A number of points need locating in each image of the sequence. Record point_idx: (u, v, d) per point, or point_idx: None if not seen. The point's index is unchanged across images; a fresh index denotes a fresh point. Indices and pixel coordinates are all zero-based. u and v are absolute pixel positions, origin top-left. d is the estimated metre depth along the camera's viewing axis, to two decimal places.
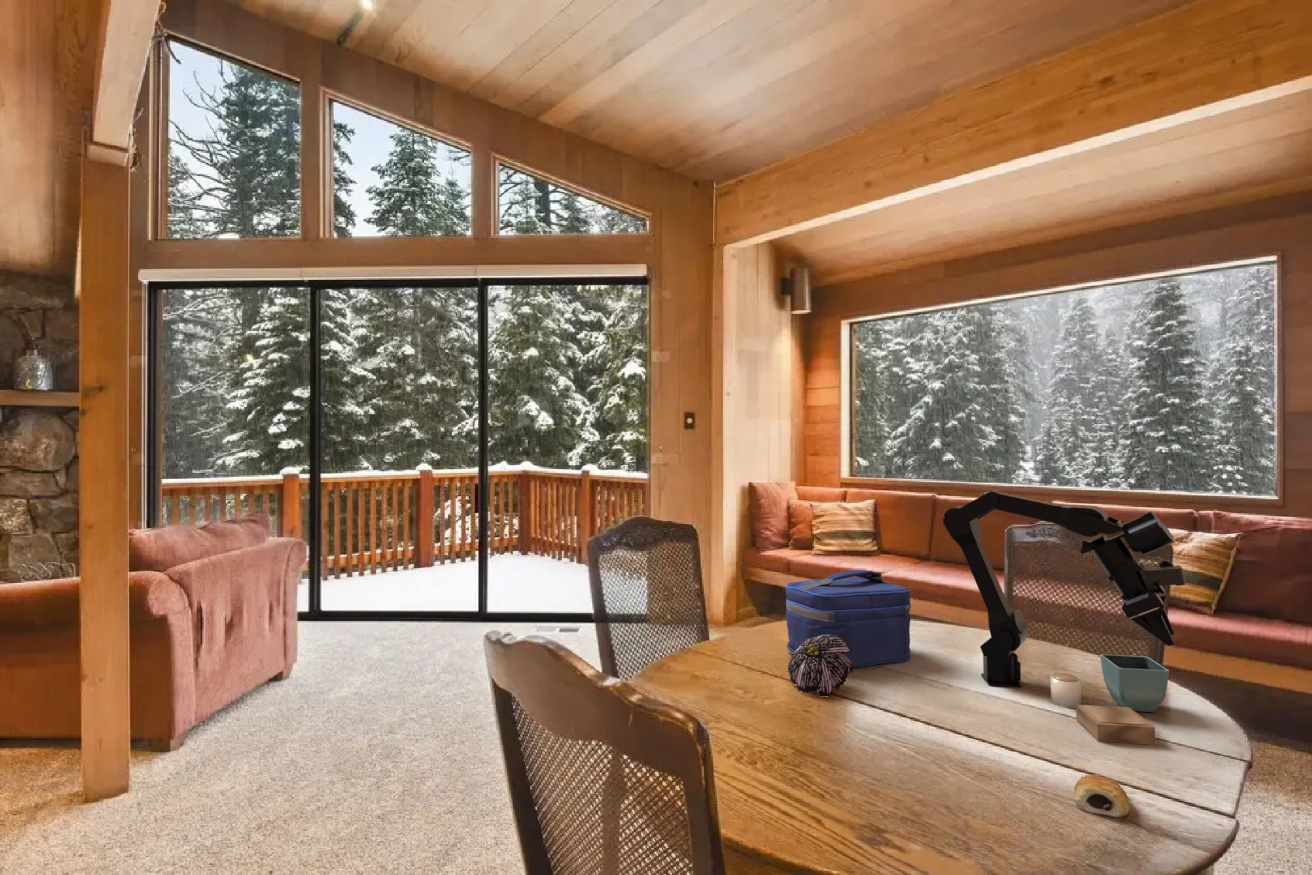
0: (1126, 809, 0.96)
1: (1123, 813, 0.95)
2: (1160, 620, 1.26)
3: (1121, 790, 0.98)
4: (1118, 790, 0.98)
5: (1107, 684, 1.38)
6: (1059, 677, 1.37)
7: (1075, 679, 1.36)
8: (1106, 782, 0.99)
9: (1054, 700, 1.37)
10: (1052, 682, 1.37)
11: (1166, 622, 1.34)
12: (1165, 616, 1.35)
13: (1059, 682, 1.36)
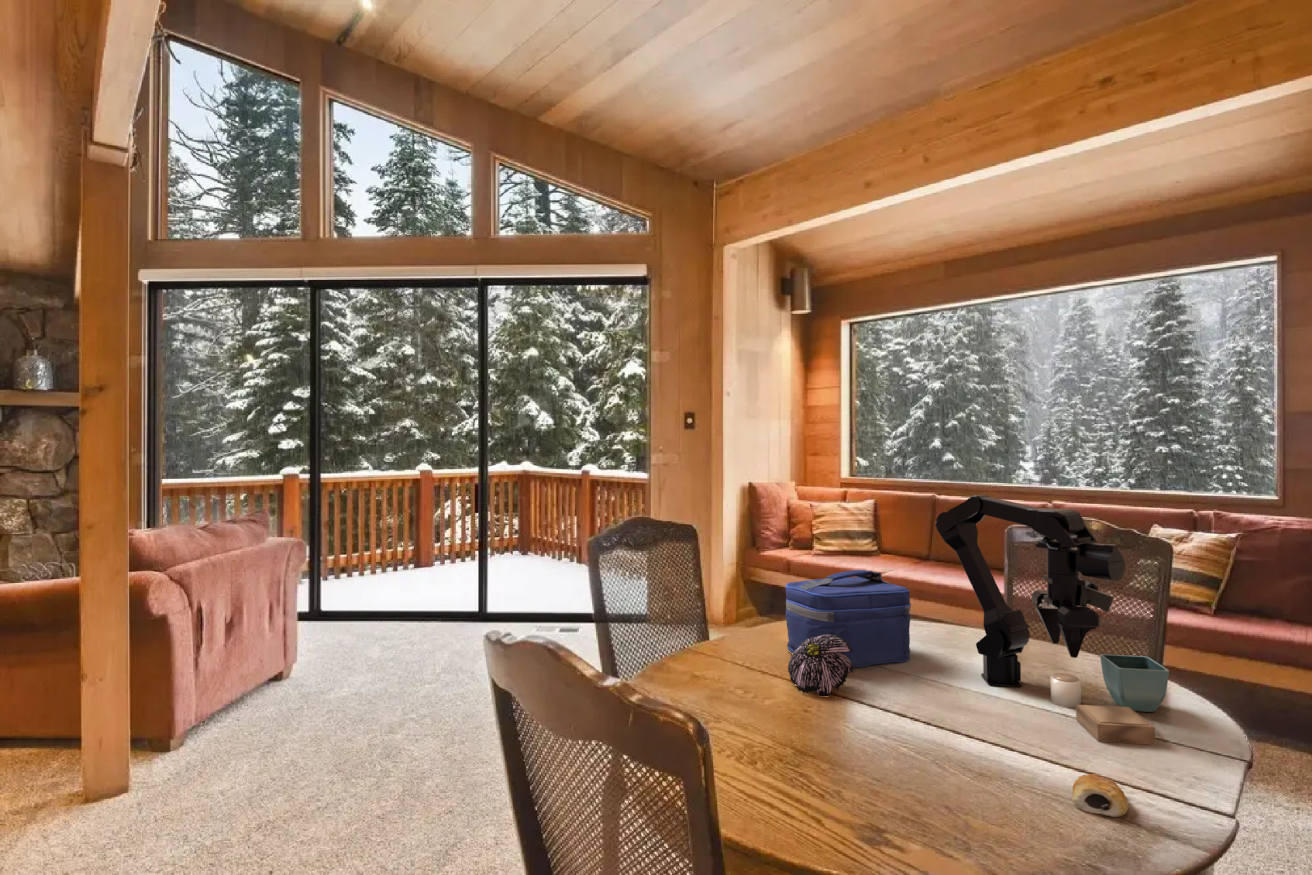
0: (1124, 809, 0.96)
1: (1121, 813, 0.96)
2: (1082, 635, 1.31)
3: (1119, 790, 0.98)
4: (1115, 789, 0.98)
5: (1107, 684, 1.38)
6: (1059, 677, 1.37)
7: (1075, 679, 1.36)
8: (1104, 782, 0.99)
9: (1054, 700, 1.37)
10: (1052, 682, 1.37)
11: (1057, 631, 1.42)
12: None
13: (1059, 682, 1.36)
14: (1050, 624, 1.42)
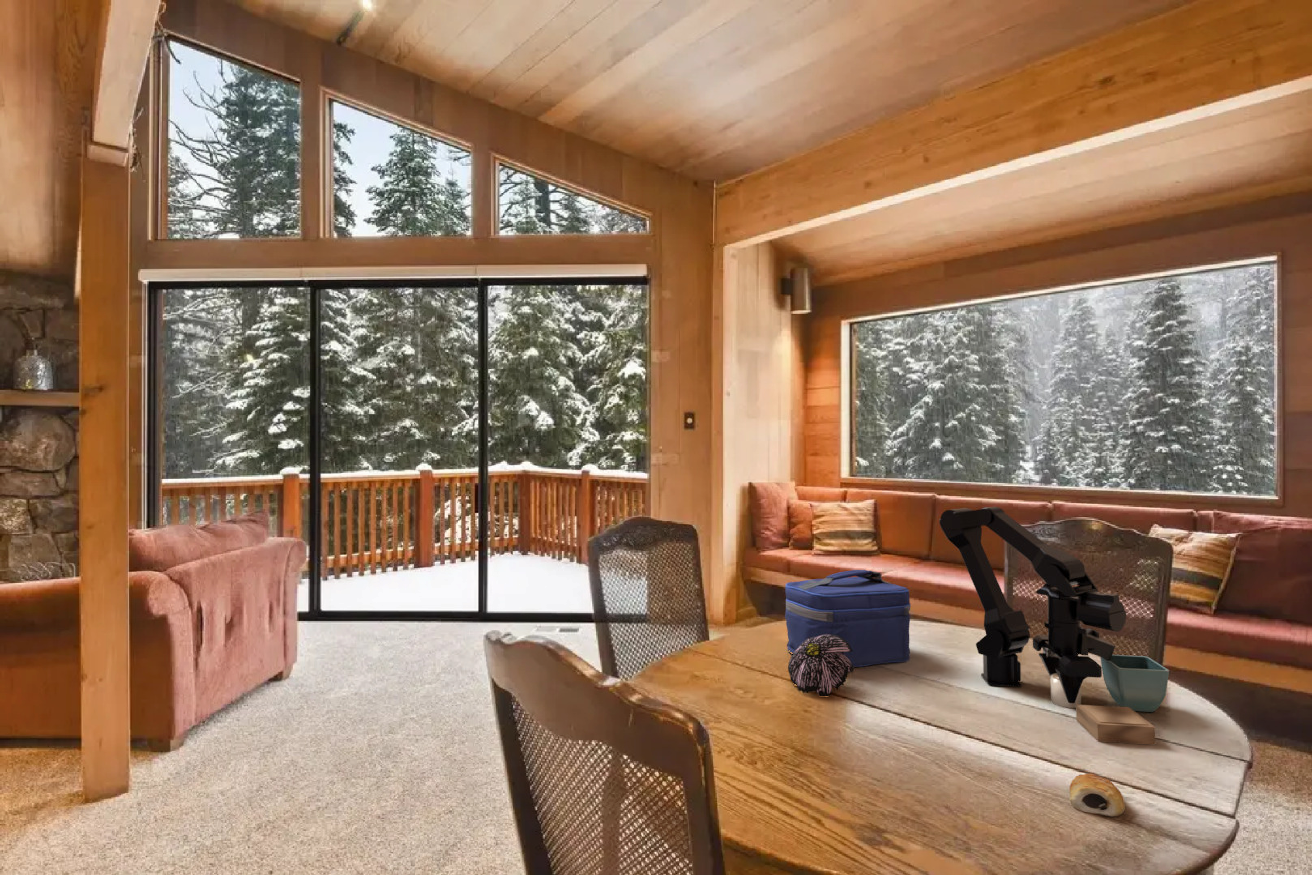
0: (1121, 808, 0.96)
1: (1118, 812, 0.96)
2: (1079, 682, 1.33)
3: (1116, 789, 0.99)
4: (1112, 789, 0.98)
5: (1107, 684, 1.38)
6: None
7: None
8: (1101, 781, 0.99)
9: (1054, 700, 1.37)
10: (1052, 682, 1.37)
11: None
12: None
13: (1059, 682, 1.36)
14: None
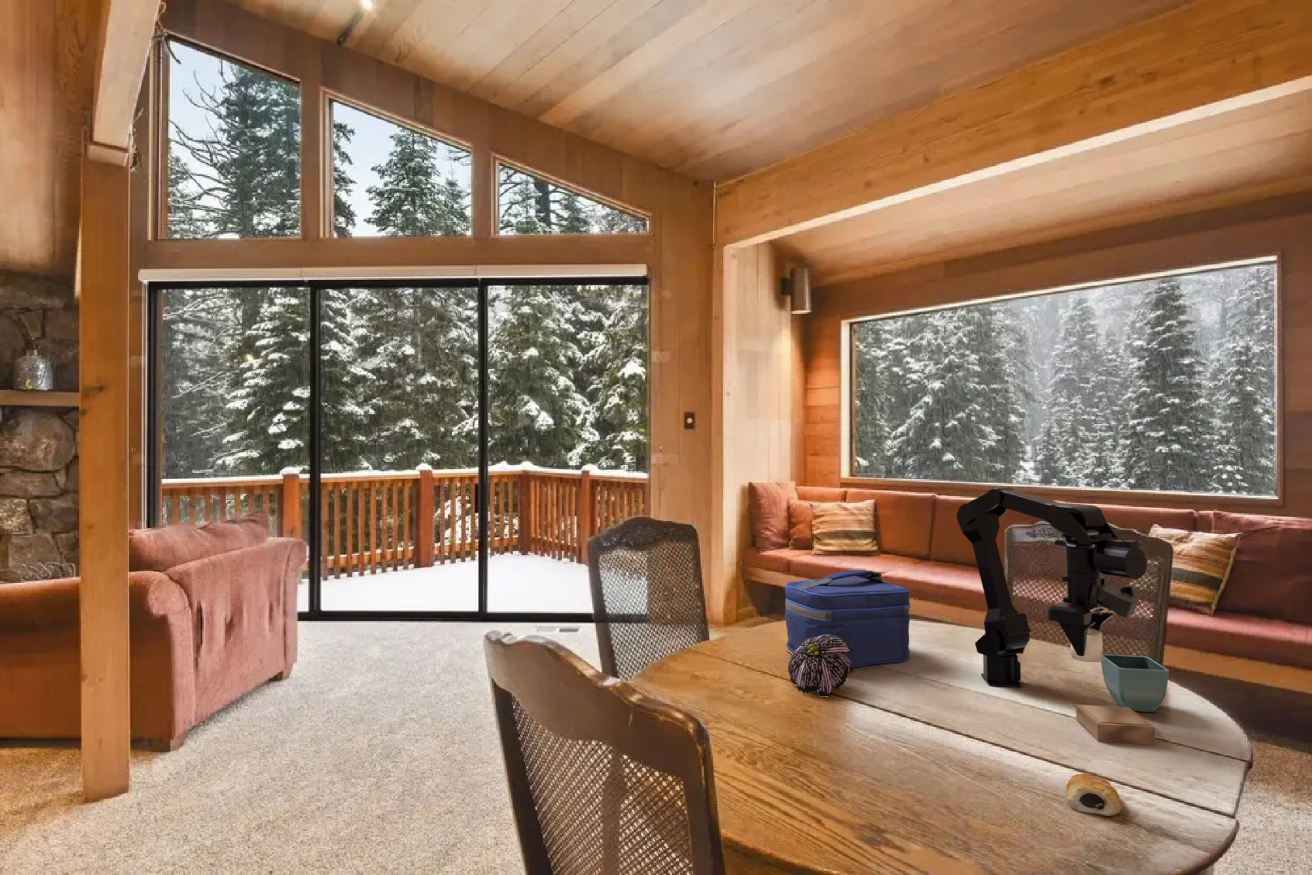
0: (1118, 807, 0.96)
1: (1115, 812, 0.96)
2: (1082, 633, 1.28)
3: (1112, 788, 0.99)
4: (1109, 788, 0.98)
5: (1107, 684, 1.38)
6: None
7: (1090, 633, 1.29)
8: (1097, 781, 1.00)
9: (1071, 652, 1.32)
10: None
11: None
12: None
13: None
14: None
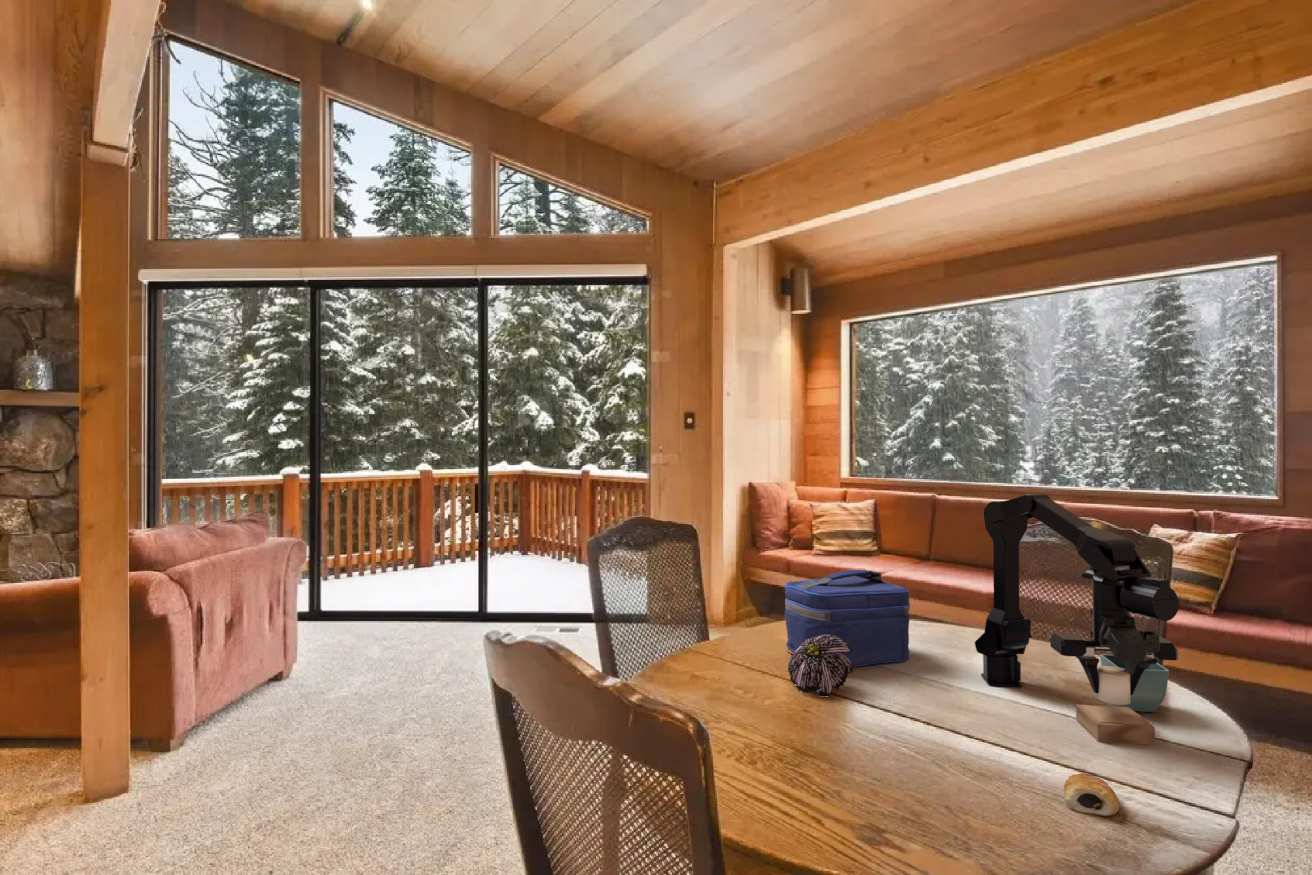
0: (1116, 808, 0.96)
1: (1113, 812, 0.96)
2: (1088, 668, 1.24)
3: (1110, 788, 0.99)
4: (1106, 788, 0.98)
5: None
6: (1105, 667, 1.25)
7: (1107, 672, 1.23)
8: (1095, 781, 1.00)
9: None
10: None
11: (1130, 681, 1.23)
12: (1132, 676, 1.22)
13: None
14: (1128, 671, 1.24)
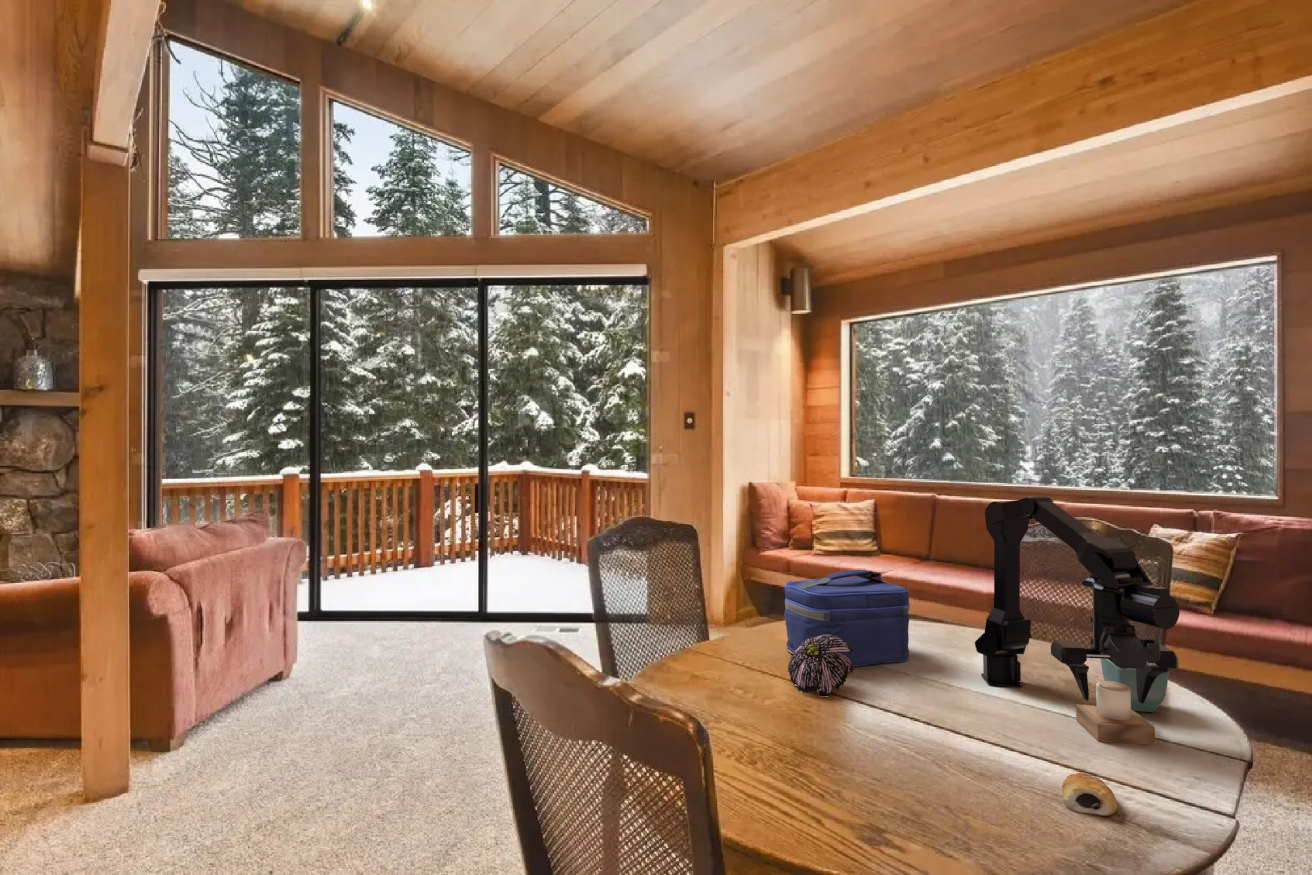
0: (1114, 807, 0.96)
1: (1112, 811, 0.96)
2: (1078, 675, 1.24)
3: (1108, 788, 0.99)
4: (1105, 788, 0.99)
5: None
6: (1106, 682, 1.25)
7: (1108, 687, 1.22)
8: (1093, 781, 1.00)
9: None
10: None
11: (1141, 690, 1.22)
12: (1143, 685, 1.22)
13: None
14: (1139, 679, 1.24)
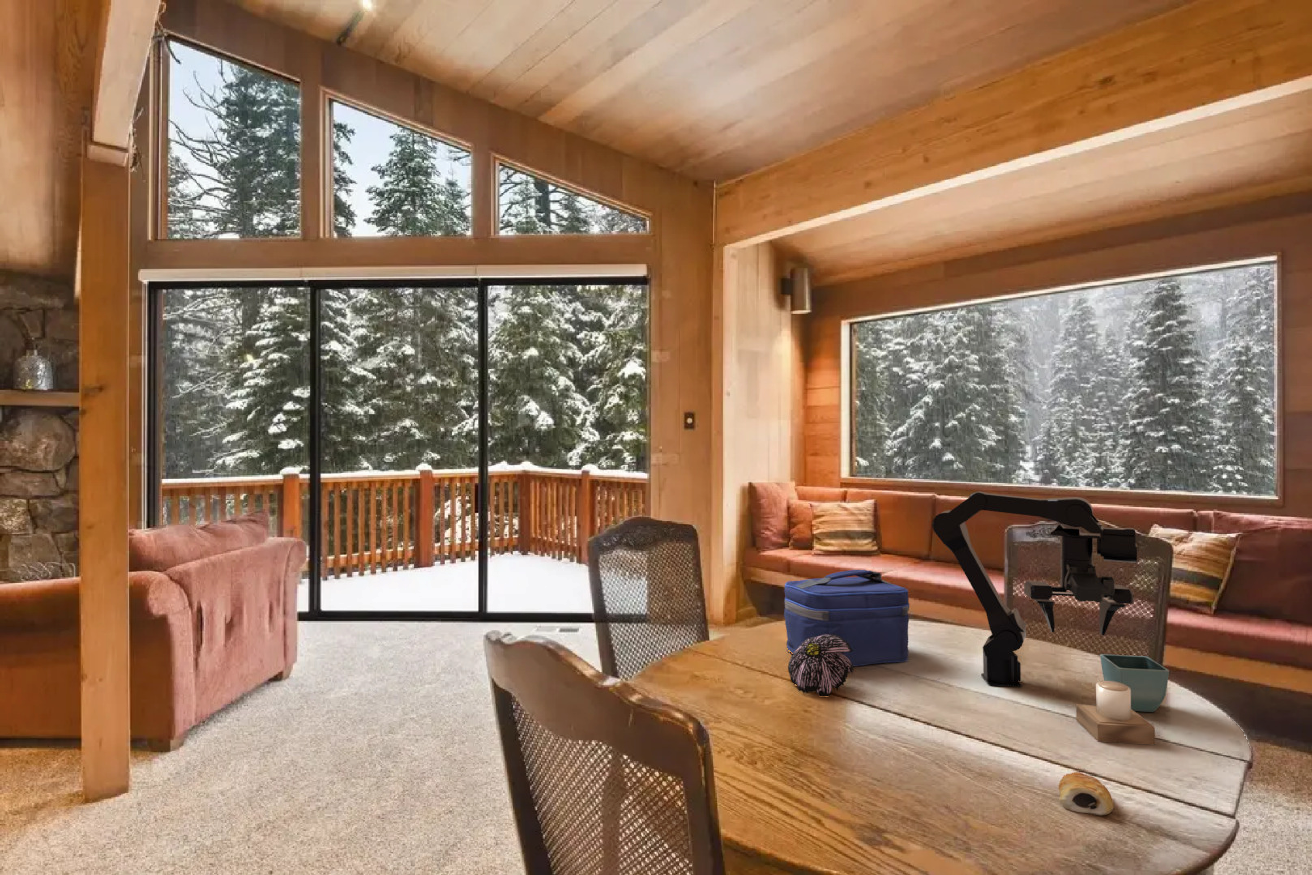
0: (1111, 806, 0.97)
1: (1108, 811, 0.96)
2: None
3: (1104, 787, 0.99)
4: (1101, 787, 0.99)
5: None
6: (1106, 682, 1.25)
7: (1108, 687, 1.23)
8: (1089, 780, 1.00)
9: None
10: None
11: (1102, 623, 1.40)
12: (1104, 619, 1.40)
13: None
14: (1102, 615, 1.42)
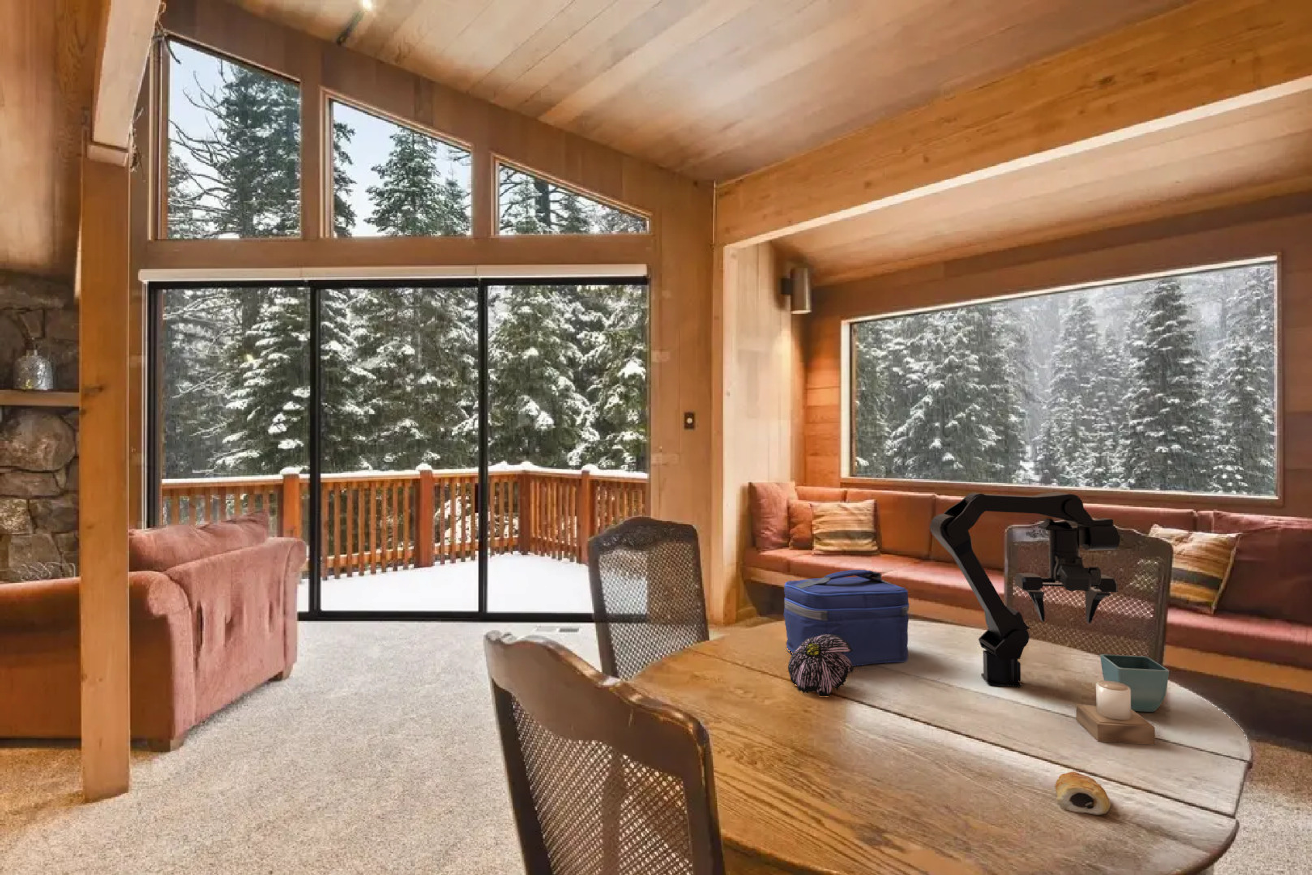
0: (1107, 806, 0.97)
1: (1105, 810, 0.96)
2: (1036, 600, 1.49)
3: (1100, 787, 0.99)
4: (1097, 787, 0.99)
5: None
6: (1105, 682, 1.25)
7: (1108, 687, 1.23)
8: (1086, 780, 1.00)
9: None
10: None
11: (1089, 612, 1.48)
12: (1090, 607, 1.48)
13: None
14: (1088, 604, 1.49)
